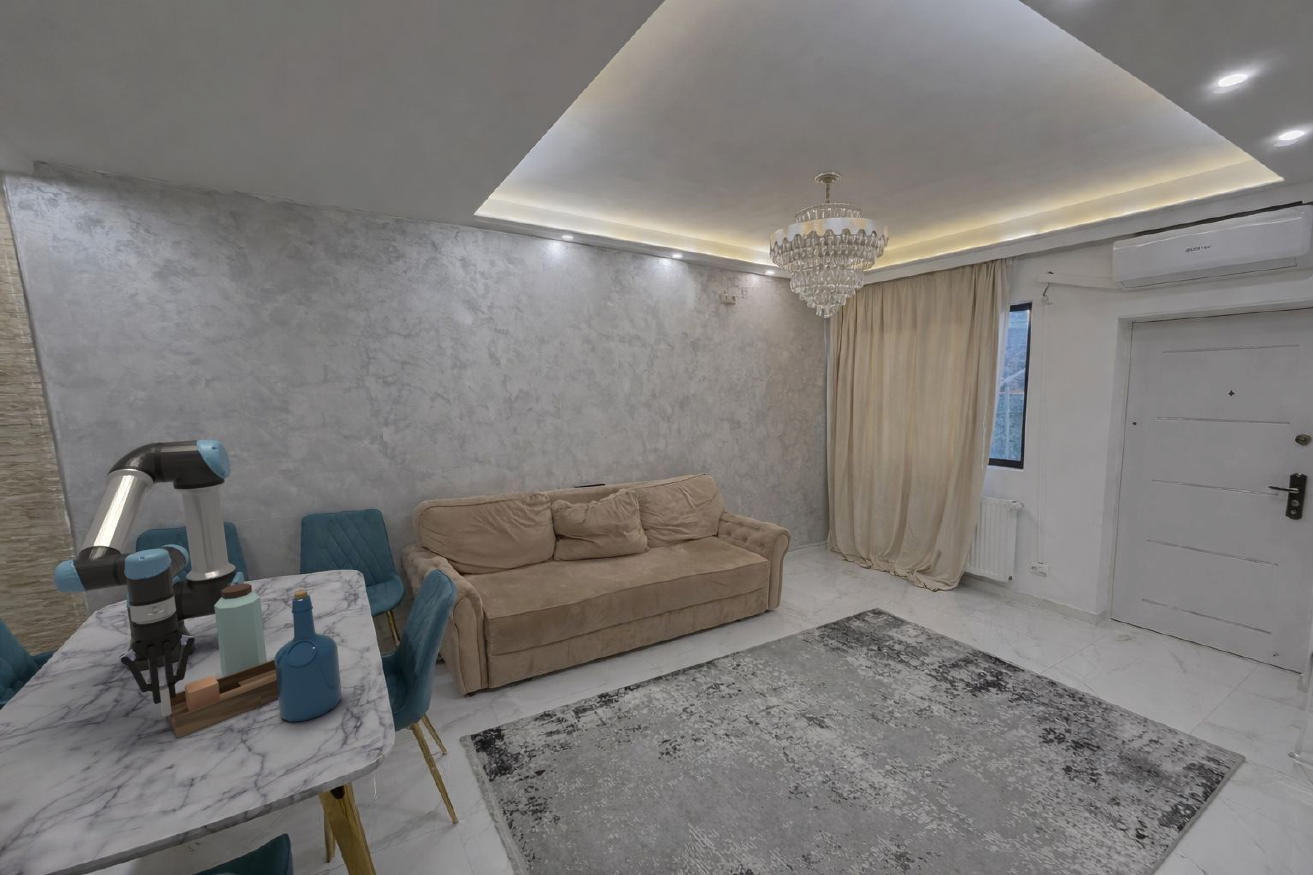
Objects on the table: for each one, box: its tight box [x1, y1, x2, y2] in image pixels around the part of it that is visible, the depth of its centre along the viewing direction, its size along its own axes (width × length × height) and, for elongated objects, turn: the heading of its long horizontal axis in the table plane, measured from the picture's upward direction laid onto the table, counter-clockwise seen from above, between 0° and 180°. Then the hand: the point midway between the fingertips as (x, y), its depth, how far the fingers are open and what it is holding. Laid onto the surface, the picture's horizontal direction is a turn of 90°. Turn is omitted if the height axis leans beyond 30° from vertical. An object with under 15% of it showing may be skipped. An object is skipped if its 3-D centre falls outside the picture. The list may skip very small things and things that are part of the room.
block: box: [183, 675, 220, 711], centre depth 130 cm, size 6×6×6 cm
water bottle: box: [214, 583, 268, 677], centre depth 147 cm, size 10×10×25 cm
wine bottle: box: [273, 590, 342, 723], centre depth 131 cm, size 14×13×30 cm
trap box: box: [166, 659, 278, 739], centre depth 137 cm, size 13×30×6 cm, turn 140°
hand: (166, 712), depth 125 cm, fingers closed
